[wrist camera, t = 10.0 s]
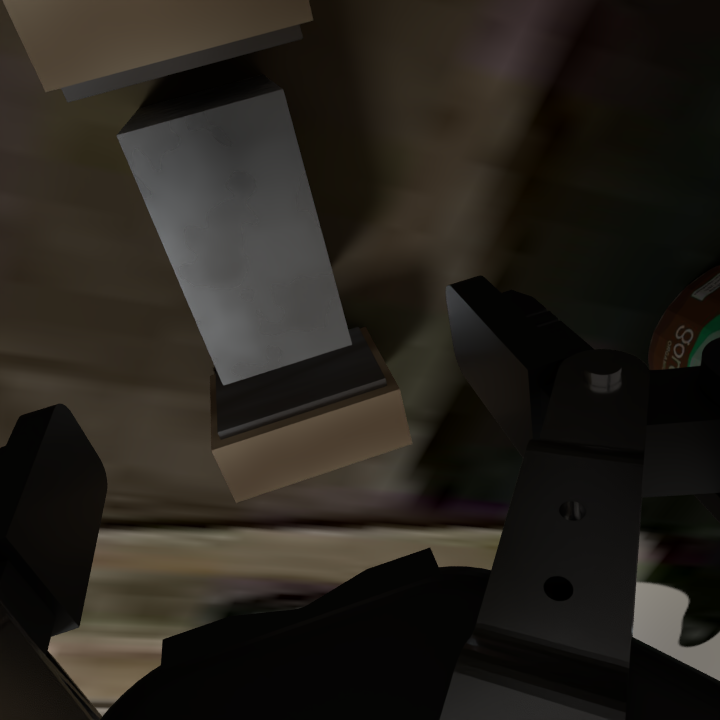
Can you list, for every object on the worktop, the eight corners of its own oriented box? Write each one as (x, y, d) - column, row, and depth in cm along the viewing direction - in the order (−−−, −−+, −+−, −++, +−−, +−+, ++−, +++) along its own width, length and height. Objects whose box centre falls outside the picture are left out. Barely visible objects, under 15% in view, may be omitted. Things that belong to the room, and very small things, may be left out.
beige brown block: (42, -16, 20) (-13, -32, 15) (264, -72, 21) (284, -105, 16) (87, 89, 22) (52, 106, 17) (291, 34, 23) (316, 35, 18)
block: (139, 108, 23) (116, 135, 17) (262, 74, 23) (283, 88, 17) (218, 309, 28) (223, 385, 22) (320, 277, 28) (352, 344, 22)
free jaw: (207, 369, 28) (207, 443, 23) (363, 319, 29) (397, 381, 24) (230, 422, 30) (236, 502, 25) (377, 375, 31) (412, 443, 26)
